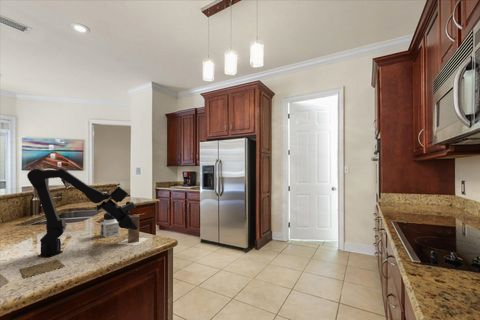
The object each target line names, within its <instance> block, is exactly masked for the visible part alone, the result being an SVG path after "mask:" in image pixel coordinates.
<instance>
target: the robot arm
mask: <svg viewBox="0 0 480 320" xmlns="http://www.w3.org/2000/svg"><path fill="white" fill-rule="evenodd" d="M26 176H27V177H26V178H27V179H28V181H29V183H30V184H31V185H32V187H33V188H34V189H35V190H36V193H37V196H38V199H39V201H40V206H41V207H42V210H43V213H44V216H45V219H46V223H45V224H46V226H45V228H46V233H45V234H44V235H43V236H42V237H41V238H40V240H39V242H40V254H38V255H37V257H43V258H51V257H53V256H56V255H59V254H61V253H63V252H64V250H62V249H61V248H62V241H61V238H60V237H62V235H63V234H64V233H65V230H67V229H66V227H67V225H68V224H67V223H66V221H65V220H66V219H65V217H62V218H60V216H59V215H58V212H57V209H56V206H55V202H54V199H53V197H52V194H51V191H50V187H49V183H50V181H49V180H50V179H57V178H59V179H61V180H63V181H64V182H66V183H68V184H69V185H71V186H72V187H74V188H75V189H77V190H78V191H80V192H81V193H82V194H84V196H85V197H86V198H87V199H88V200H89V201H91V203H94V204H96V211H97V212H99V211H100V210H101V209H102V210H103V211H104V212H105V213H108V214H109V215H110V216H111V217H113V218H115V219H116V221H117V222H118V225H119V227H120V229H122V228H125V229H128V228H129V229H134V230H137V229H138V228H137V227H136V226H135V224H134V223H133V222H132V217H131V216H132V214H131V213H130V211H132V210H134V209H136V208H137V207H136V205H135V203H134V201H131V202H130V201H125V205H123V206H121V205H118V204H117V203H122V202H123V201H124V200H125V198H126V197H128V196H129V195H130V194H129V193H128V192H127V191H126V190H125V189H123V188H121V186H119V185H118V186H116V187H115V189H114V190H113V191H111V192H110V193H109V192H108V193H107V192H104V191H102V190H99V189H97V188H95V187H92V186H90V185H88V184H87V183H85V182H84V181H82V180H81V179H79V178H78V177H77V176H75V175H73V174H72V173H71V172H69V171H68V170H67V169H64V168H59V169H55V170H54V169H52V170H45V169H43V168H34V169H31V170H29V171H28V172H27V174H26Z"/></svg>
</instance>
